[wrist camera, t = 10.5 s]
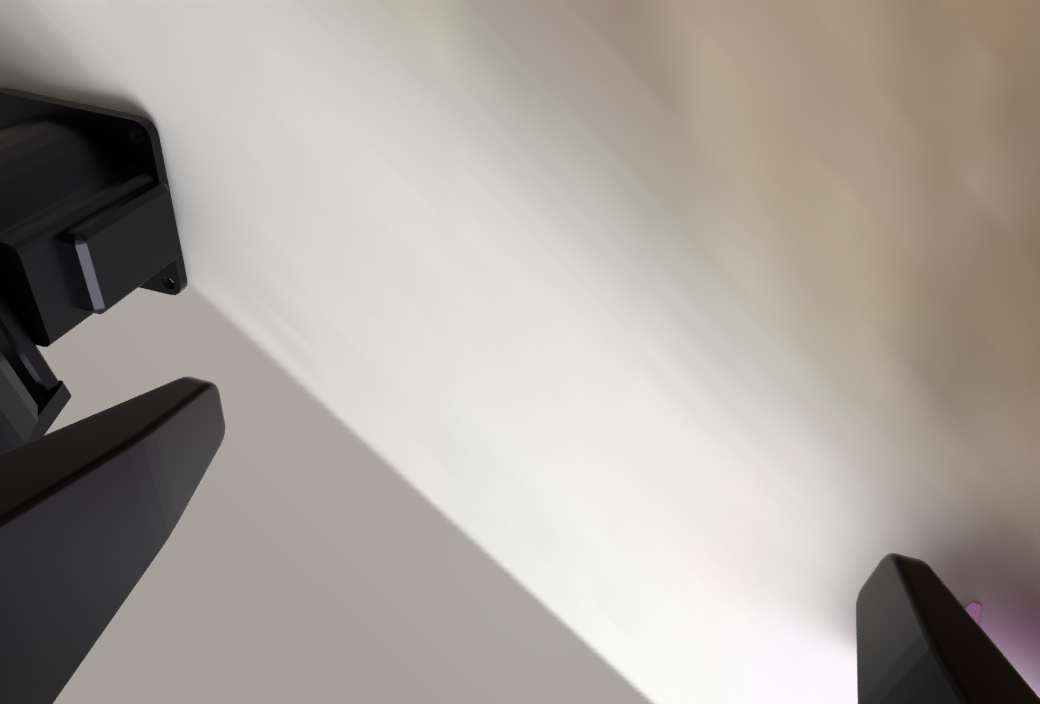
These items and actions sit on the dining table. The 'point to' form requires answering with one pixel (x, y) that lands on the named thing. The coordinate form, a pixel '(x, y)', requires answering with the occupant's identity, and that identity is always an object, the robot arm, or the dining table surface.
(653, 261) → the dining table surface
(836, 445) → the dining table surface
